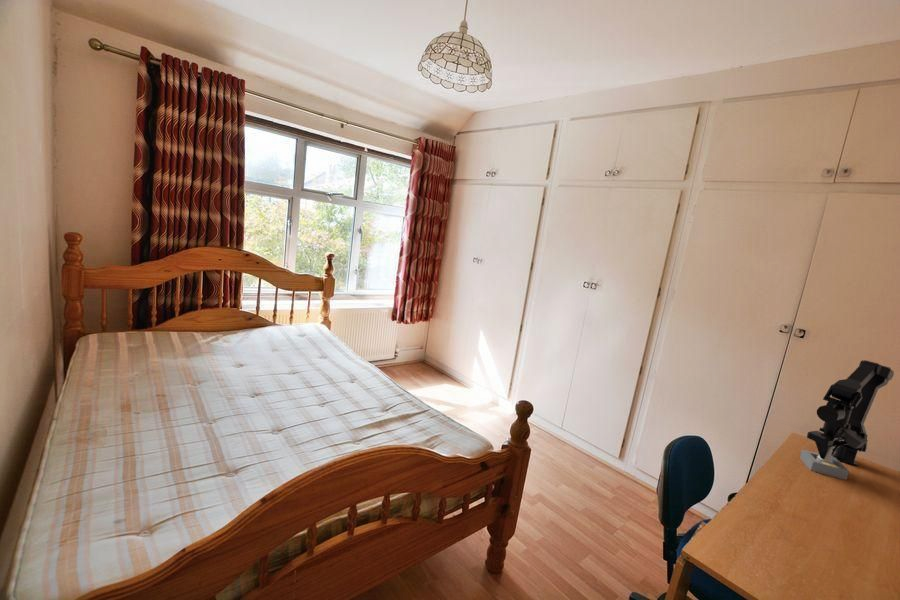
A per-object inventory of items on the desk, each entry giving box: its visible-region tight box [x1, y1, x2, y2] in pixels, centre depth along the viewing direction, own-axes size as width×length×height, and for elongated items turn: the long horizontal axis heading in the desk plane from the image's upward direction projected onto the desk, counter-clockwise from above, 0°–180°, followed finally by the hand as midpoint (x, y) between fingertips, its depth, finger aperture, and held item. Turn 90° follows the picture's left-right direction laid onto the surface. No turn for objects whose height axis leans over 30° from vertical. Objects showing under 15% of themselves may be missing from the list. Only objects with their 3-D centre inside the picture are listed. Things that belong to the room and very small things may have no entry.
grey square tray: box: [799, 448, 850, 481], centre depth 146 cm, size 10×10×4 cm
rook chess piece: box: [816, 447, 835, 464], centre depth 146 cm, size 4×4×8 cm
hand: (825, 457), depth 146 cm, fingers closed on rook chess piece, 3 cm apart
